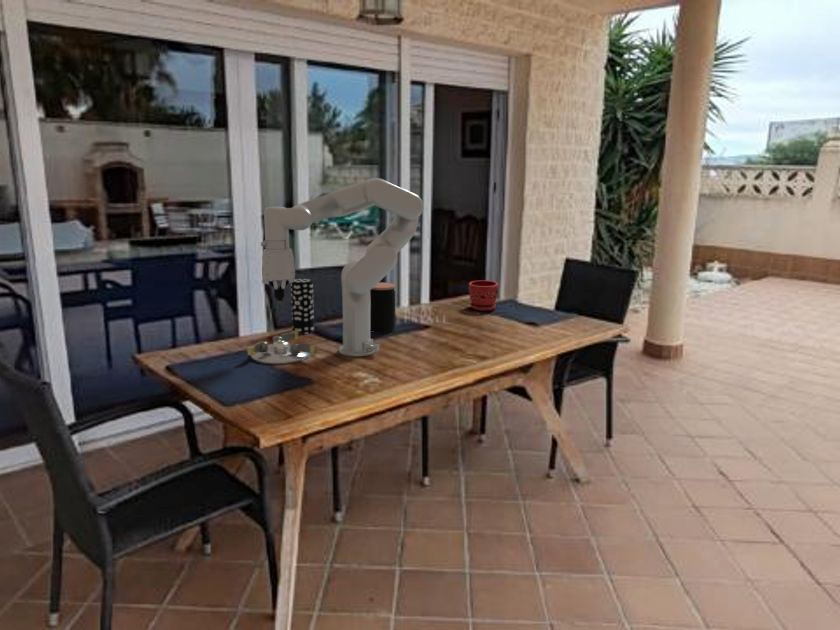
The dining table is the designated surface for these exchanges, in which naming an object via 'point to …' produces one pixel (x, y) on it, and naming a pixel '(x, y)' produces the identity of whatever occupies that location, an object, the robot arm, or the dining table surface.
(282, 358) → the tribrach plate
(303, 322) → the spotted tube
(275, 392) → the dining table surface
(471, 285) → the plant pot
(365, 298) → the robot arm
